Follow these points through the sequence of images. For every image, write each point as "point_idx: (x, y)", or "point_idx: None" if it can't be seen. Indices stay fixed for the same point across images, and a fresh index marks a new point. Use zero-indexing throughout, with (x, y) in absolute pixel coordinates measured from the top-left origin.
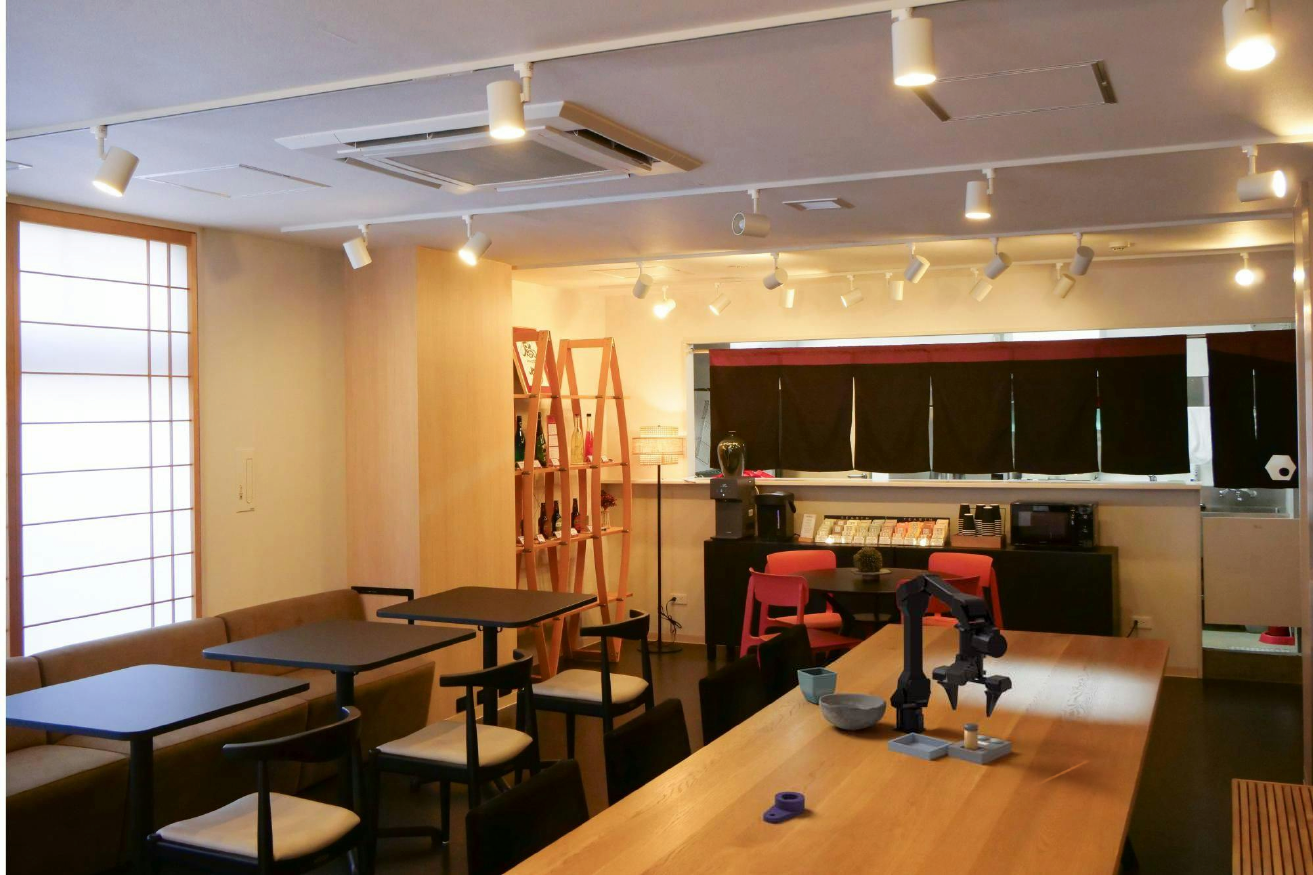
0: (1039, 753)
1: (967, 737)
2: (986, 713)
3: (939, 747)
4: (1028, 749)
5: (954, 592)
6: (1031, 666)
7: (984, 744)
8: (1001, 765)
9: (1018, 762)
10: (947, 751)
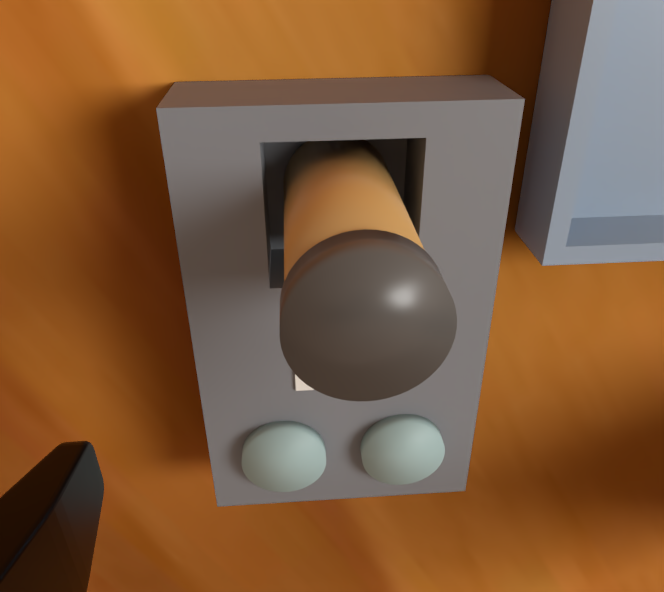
0: (134, 545)
1: (355, 200)
2: (62, 481)
3: (593, 47)
4: (216, 555)
5: None
6: None
7: None
8: (104, 226)
9: (85, 357)
10: (538, 154)
